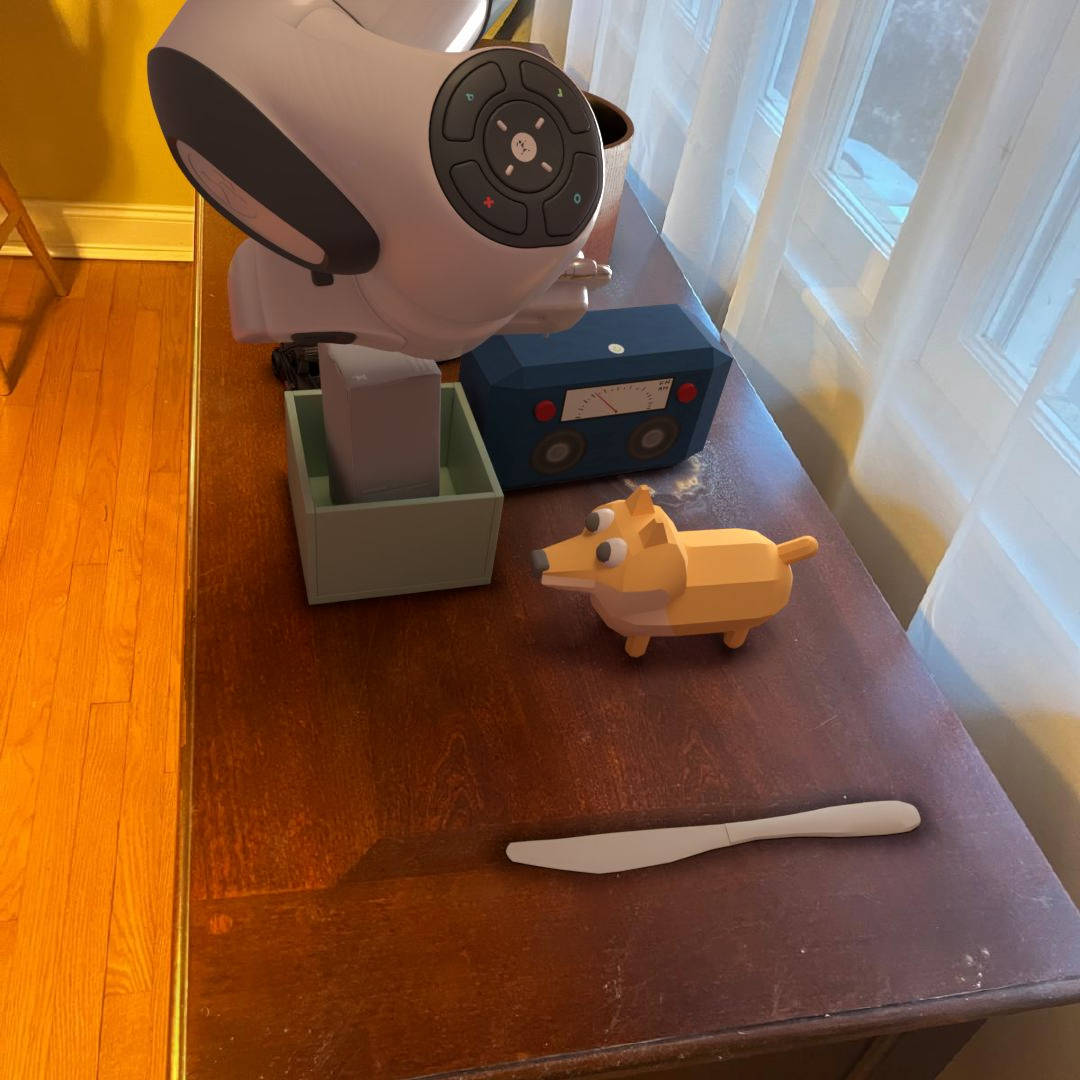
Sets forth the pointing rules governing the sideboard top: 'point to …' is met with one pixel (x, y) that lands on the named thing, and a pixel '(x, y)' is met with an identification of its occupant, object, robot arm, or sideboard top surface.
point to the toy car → (297, 365)
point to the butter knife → (709, 837)
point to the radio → (596, 395)
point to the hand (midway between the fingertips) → (392, 326)
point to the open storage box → (393, 513)
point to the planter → (609, 174)
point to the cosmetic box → (380, 424)
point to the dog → (671, 573)
